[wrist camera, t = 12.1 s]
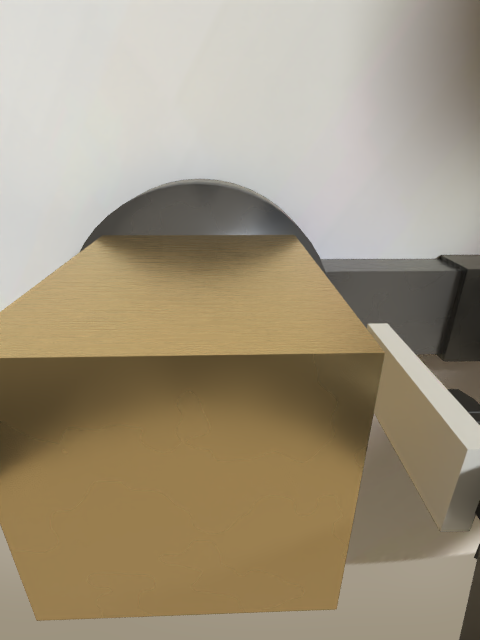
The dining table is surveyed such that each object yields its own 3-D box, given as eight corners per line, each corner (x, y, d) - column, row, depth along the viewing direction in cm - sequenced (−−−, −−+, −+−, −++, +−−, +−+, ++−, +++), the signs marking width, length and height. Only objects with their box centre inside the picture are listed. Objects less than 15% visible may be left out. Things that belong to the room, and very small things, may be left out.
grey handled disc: (582, 179, 18) (850, 206, 10) (506, 390, 23) (648, 515, 15) (66, 178, 17) (-63, 206, 9) (104, 397, 22) (40, 533, 14)
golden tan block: (102, 235, 16) (-63, 358, 7) (294, 234, 16) (384, 352, 7) (125, 394, 19) (37, 620, 10) (284, 392, 19) (336, 609, 10)
